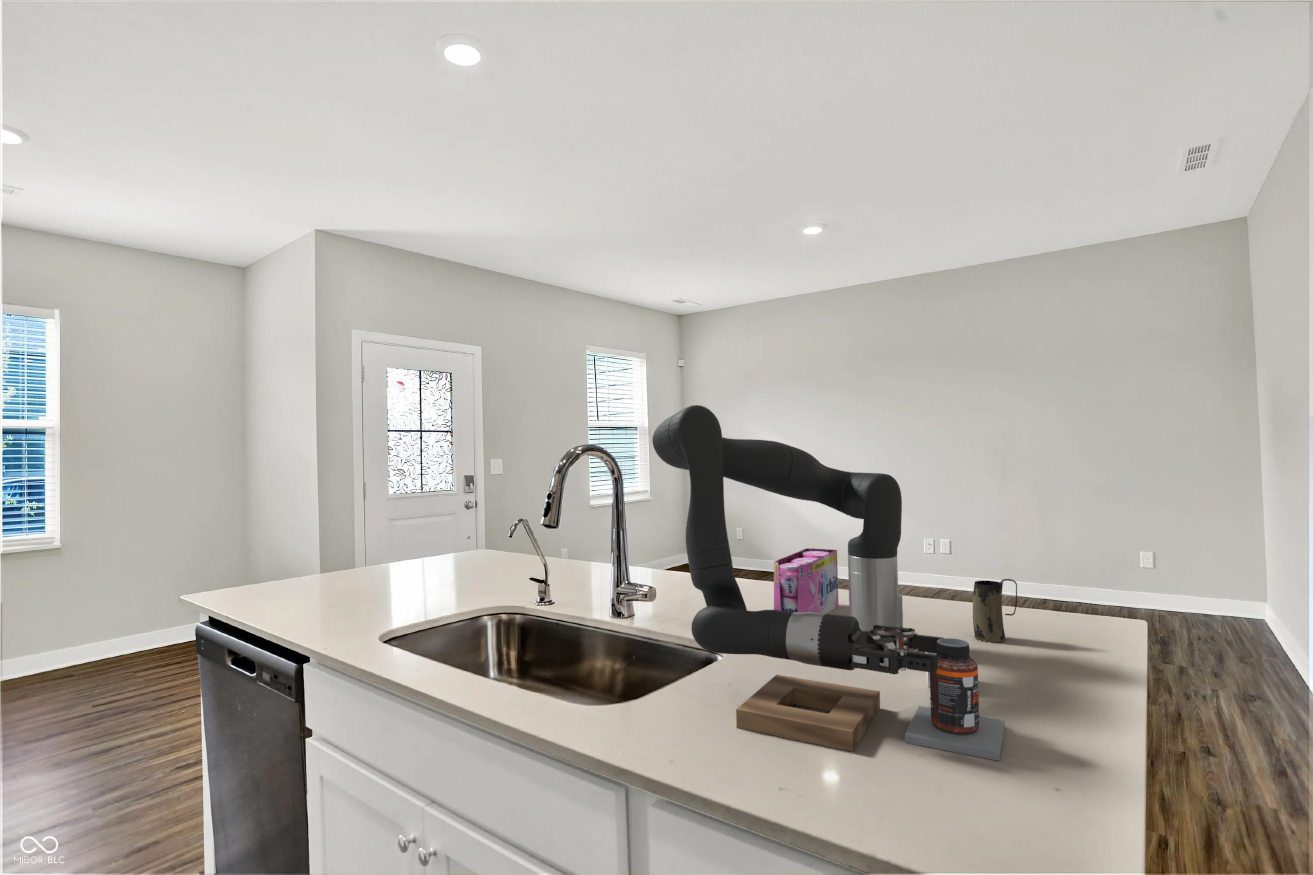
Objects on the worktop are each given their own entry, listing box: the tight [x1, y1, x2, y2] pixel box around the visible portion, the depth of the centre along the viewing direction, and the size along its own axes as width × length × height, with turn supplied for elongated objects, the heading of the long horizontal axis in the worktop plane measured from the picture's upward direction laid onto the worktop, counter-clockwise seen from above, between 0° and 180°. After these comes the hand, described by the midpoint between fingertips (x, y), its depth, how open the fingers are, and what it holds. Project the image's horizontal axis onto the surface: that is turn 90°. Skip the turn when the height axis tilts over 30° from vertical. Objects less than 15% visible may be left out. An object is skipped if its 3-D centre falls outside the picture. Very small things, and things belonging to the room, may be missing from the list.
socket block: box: [735, 674, 881, 752], centre depth 97 cm, size 16×16×2 cm
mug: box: [972, 578, 1018, 644], centre depth 133 cm, size 8×6×12 cm
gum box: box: [773, 547, 839, 614], centre depth 155 cm, size 24×8×14 cm, turn 148°
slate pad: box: [904, 705, 1006, 762], centre depth 90 cm, size 11×11×1 cm
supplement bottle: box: [929, 637, 980, 734], centre depth 90 cm, size 6×6×11 cm
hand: (941, 654), depth 91 cm, fingers open, 8 cm apart
